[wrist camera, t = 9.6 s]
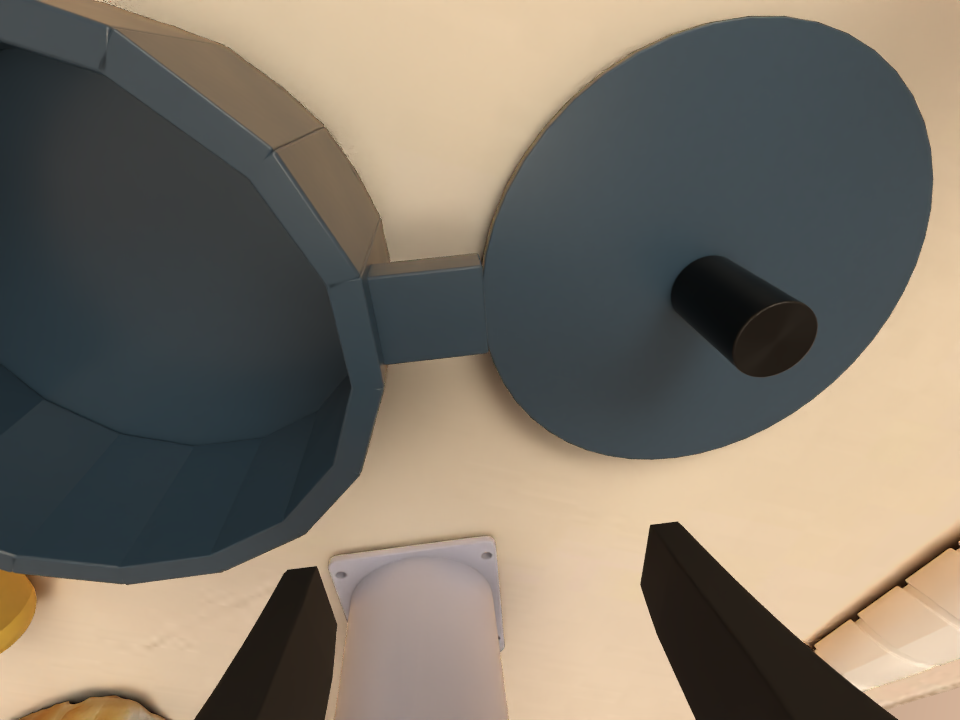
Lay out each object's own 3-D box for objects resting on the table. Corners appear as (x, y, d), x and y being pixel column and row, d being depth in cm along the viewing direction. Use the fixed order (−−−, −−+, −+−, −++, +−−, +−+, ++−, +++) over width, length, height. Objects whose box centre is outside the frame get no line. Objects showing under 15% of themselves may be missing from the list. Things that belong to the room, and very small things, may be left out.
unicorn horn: (668, 718, 35) (701, 803, 31) (974, 509, 27) (1076, 588, 22) (711, 729, 37) (747, 812, 33) (1012, 536, 28) (1113, 615, 24)
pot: (484, 419, 20) (504, 535, 15) (-18, 480, 19) (-178, 626, 14) (445, -22, 13) (459, -89, 8) (-369, 41, 12) (-971, 11, 7)
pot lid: (831, 421, 22) (931, 505, 18) (492, 463, 21) (509, 562, 17) (984, -2, 14) (1232, -37, 10) (457, 42, 14) (473, 24, 9)
